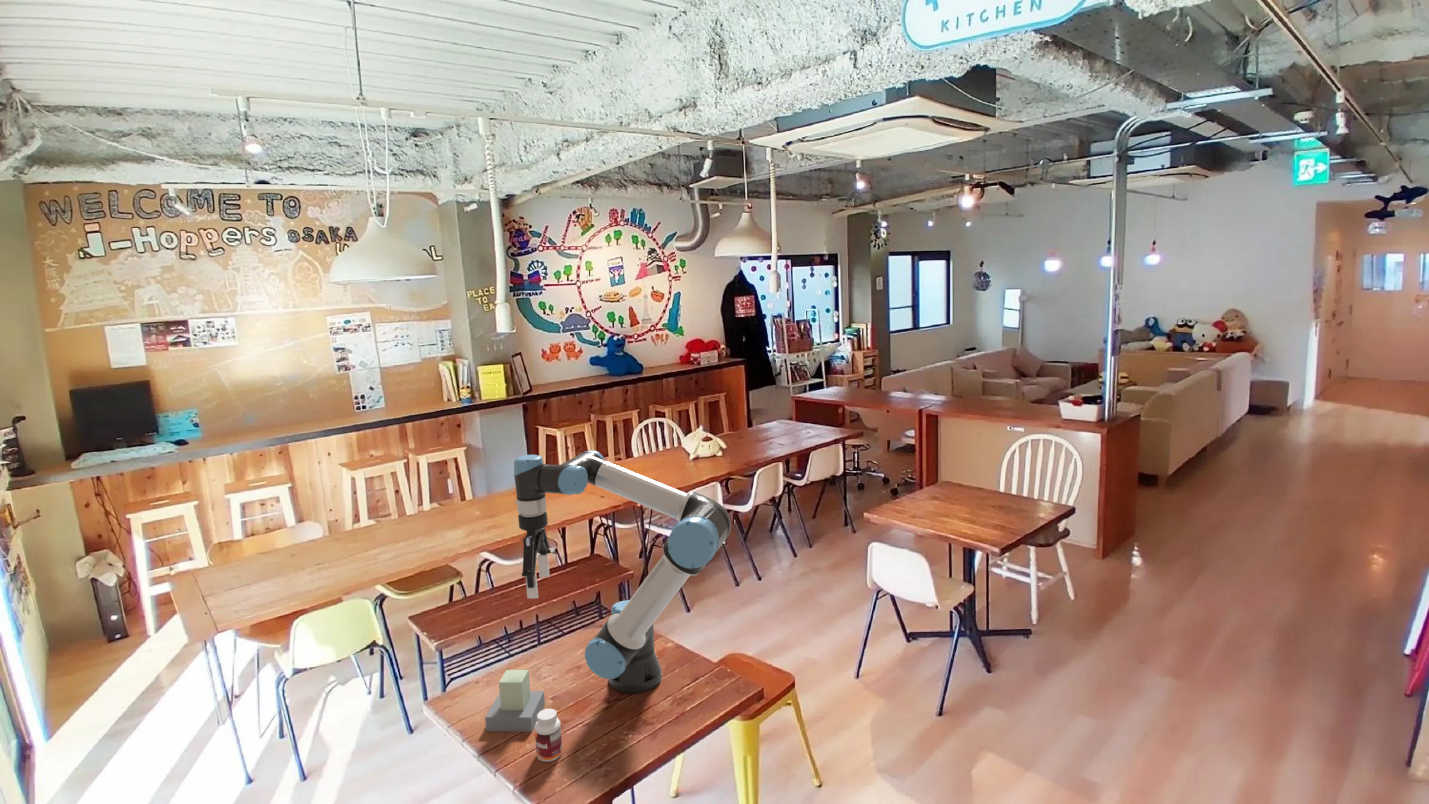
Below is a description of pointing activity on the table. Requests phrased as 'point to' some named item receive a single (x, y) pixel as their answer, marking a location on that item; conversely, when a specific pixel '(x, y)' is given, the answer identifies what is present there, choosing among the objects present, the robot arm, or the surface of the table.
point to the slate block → (515, 715)
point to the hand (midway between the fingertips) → (538, 587)
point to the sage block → (514, 689)
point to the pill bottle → (548, 735)
